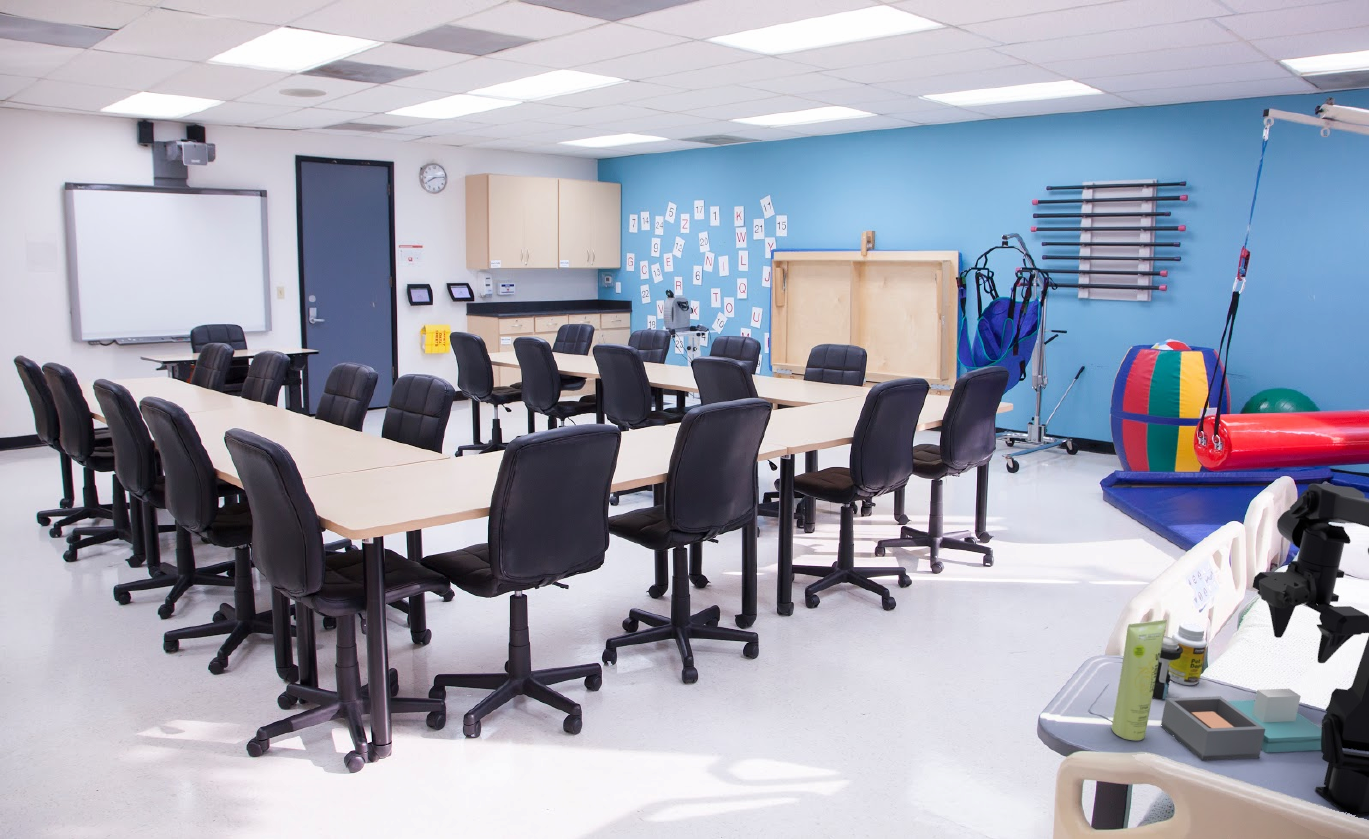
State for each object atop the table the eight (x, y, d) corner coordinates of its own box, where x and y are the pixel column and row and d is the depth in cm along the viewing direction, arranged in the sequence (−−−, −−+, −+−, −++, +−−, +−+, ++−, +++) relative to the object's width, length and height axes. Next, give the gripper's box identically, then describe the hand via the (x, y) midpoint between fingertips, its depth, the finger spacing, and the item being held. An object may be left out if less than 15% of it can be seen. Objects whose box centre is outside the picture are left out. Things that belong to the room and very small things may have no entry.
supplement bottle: (1188, 689, 174) (1198, 635, 172) (1158, 675, 178) (1168, 623, 176) (1205, 682, 177) (1215, 629, 175) (1175, 669, 182) (1185, 617, 179)
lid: (1328, 749, 157) (1337, 709, 155) (1265, 752, 155) (1274, 712, 153) (1274, 712, 168) (1283, 674, 166) (1215, 714, 165) (1223, 676, 164)
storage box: (1259, 757, 153) (1265, 728, 152) (1202, 760, 151) (1208, 731, 150) (1214, 723, 162) (1220, 696, 161) (1160, 725, 161) (1165, 698, 160)
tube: (1142, 746, 154) (1164, 631, 150) (1108, 736, 156) (1128, 623, 152) (1146, 731, 159) (1167, 619, 154) (1112, 721, 161) (1132, 610, 157)
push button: (1136, 680, 176) (1145, 628, 174) (1168, 685, 175) (1178, 633, 173) (1144, 697, 170) (1153, 644, 168) (1177, 703, 169) (1187, 649, 166)
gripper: (1233, 540, 166) (1216, 625, 169) (1321, 583, 148) (1300, 678, 152) (1290, 540, 168) (1272, 624, 171) (1384, 582, 150) (1362, 676, 154)
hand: (1298, 649), depth 162 cm, fingers open, 9 cm apart
